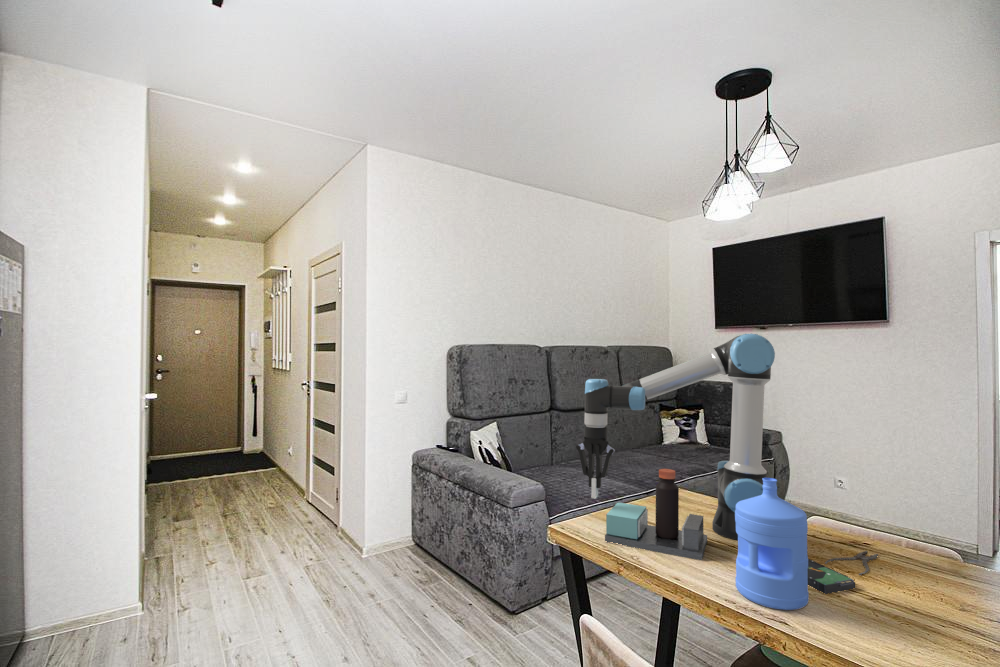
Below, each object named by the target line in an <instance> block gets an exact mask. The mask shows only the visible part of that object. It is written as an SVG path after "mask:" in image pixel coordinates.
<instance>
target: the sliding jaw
mask: <svg viewBox="0 0 1000 667" xmlns="http://www.w3.org/2000/svg"><path fill="white" fill-rule="evenodd" d="M648 514H649V513H648V509H647V506H645V505H638V504H631V503H624V502H619V501H618V502H617V503H615V505H614V506H613V507H612V508H611V509H610V510H609V511H608V512H607V513H606V522H605V524H606V525H605V526H606V528H605V533H606V534H610V535H615V536H621V537H626V538H632V539H638V537H640V536H641V534H642V533H643V531H644V530H645V528H646V527H647V525H649V520H648V519H649V518H648V517H649V516H648ZM606 534H605V535H606Z"/></svg>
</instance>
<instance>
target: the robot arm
mask: <svg viewBox="0 0 1000 667" xmlns="http://www.w3.org/2000/svg"><path fill="white" fill-rule="evenodd" d="M775 358H776V352H775V348H774V346H773V344H772V343H771V341H770V340H768V338H766V337H764V336H762V335H760V334H757V333H743V334H741V335H737V336H735V337H733V338H732V339H730V340H728V341H726V342H724V343H723V344H721V345H718V346H717V347H716V346H715V347H713V348H711V351H710V352H708V353H706V354H703V355H701V356H697V357H695V358H693V359H689V360H688V361H685V362H682V363H679V364H677V365H673V366H672V367H668V368H666V369H663V370H661V371H658V372H655V373H653V374H650V375H647V376H644V377H642V378H638V379H637V380H633V381H632V382H626V383H624V384H623V385H620V386H619V385H609V382H608V380H607V379H604V378H602V379H601V378H588V379H587V380H586V381H585V386H584V387H585V388H584V424H583V425H584V429H583V440H582V443H579V444H578V445H576V447H575V448H576V450H577V451H578V455H579V459H580V463H581V469H582V474H583V475H584V476H587V477H588V487H589V488H591V489H590V490H591V493H590V494H591V495H590V496H591V499H594V500H595V499H597V498H598V497H599V489H600V488H601V487H602V478H606V476H608V472H609V470H610V465H611V461H612V456H613V454H614V453H615V451H616V449H615V448H614V447H612V446H610V445H609V441H608V427H607V426H608V416H609V415H608V409H610V410H612V409H614V410H615V409H617V410H628V411H630V410H631V411H643V410H645V408H646V401H648V400H651V399H653V398H657V397H658V396H662V395H664V394H667V393H669V392H673V391H675V390H678V389H679V390H680V389H681V388H684V387H687V386H689V385H692V384H695V383H698V382H701V381H703V380H707V379H709V378H712V377H715V376H718V375H723V376H726V375H727V379H729V380H730V381H731V382H732V394H731V395H732V396H731V397H732V398H731V417H730V418H731V424H730V446H729V447H730V448H729V449H730V451H729V460H721V461H718V462H717V468H716V472H717V508H716V511H715V513H714V516H713V519H712V522H711V523H712V526H711V527H712V531H713V532H714V533H715V534H717V535H718V536H721V537H724V538H727V539H731V540H736V541H738V534H737V533H736V522H735V510H736V504H737V503H738V502H739V501H742V500H745V499H749V498H752V497H756V496H760V495H762V493H763V487H762V485H763V480H762V478H768V476H767V475H768V474H767V473H768V471H767V469H765V468H764V466H763V465H762V455H763V454H762V453H763V430H764V428H763V427H764V426H763V425H764V406H765V385H766V384H767V383H768V382H770V381H771V376H772V366H773V364H774V362H775ZM585 449H586V451H587V453H588V454H587V455H588V461H587V456H586V451H585ZM605 451H606V453H607V454H606V456H605V459H604V460H605V461H604V464H603V453H604V452H605ZM595 463H596V464H595Z"/></svg>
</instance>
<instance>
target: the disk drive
mask: <svg viewBox="0 0 1000 667" xmlns="http://www.w3.org/2000/svg"><path fill="white" fill-rule="evenodd" d="M808 585H809V586H808V587H810V586H811V588H812V587H813V589H814V588H815V589H814V590H816V589H817V590H816V591H818V590H819V591H818V592H820V591H821V592H820V593H822V592H823V593H822V594H824V593H825V595H829V594H833V593H832V592H835V593H839V592H838V591H840V592H844V590H846V591H850V590H849V589H851V590H854V589H853V588H855V589H856V581H855V580H854V579H853V578H851V577H849V576H848V575H846V574H843V573H840V572H839V571H836V570H834V569H832V568H830V567H828V566H825V565H823V564H821V563H818V562H816V561H814V560H812V559H810V558H808ZM828 593H829V594H828Z"/></svg>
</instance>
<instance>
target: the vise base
mask: <svg viewBox="0 0 1000 667" xmlns="http://www.w3.org/2000/svg"><path fill="white" fill-rule="evenodd" d="M605 541H607V542H606V543H608V542H613V543H618V544H622V545H621V546H623V545H627V546H626V547H628V546H631V547H630V548H634V547H635V549H639V548H640V549H639V550H644V549H645V551H649V550H650V552H655V553H660V554H661V553H662V554H666V555H671V556H676V557H682V558H687V559H692V560H697V561H703V557H704V555H705V551H706V548H707V543H708V534H704V515H700V514H693V513H689V514H688V515H687V516H686V518H685V520H684V522H683V524H682V527H681V529H679V535H678V537H677V538H675V539H666V538H661V537H659V536H657V535H656V525H651V524H648V525H647V527H646V528H645V530H644V531H643V533H642V534H641V536H640V537H638V539H632V538H626V537H621V536H615V535H610V534H604V542H605ZM613 543H612V544H613ZM618 544H617V545H618Z"/></svg>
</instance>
